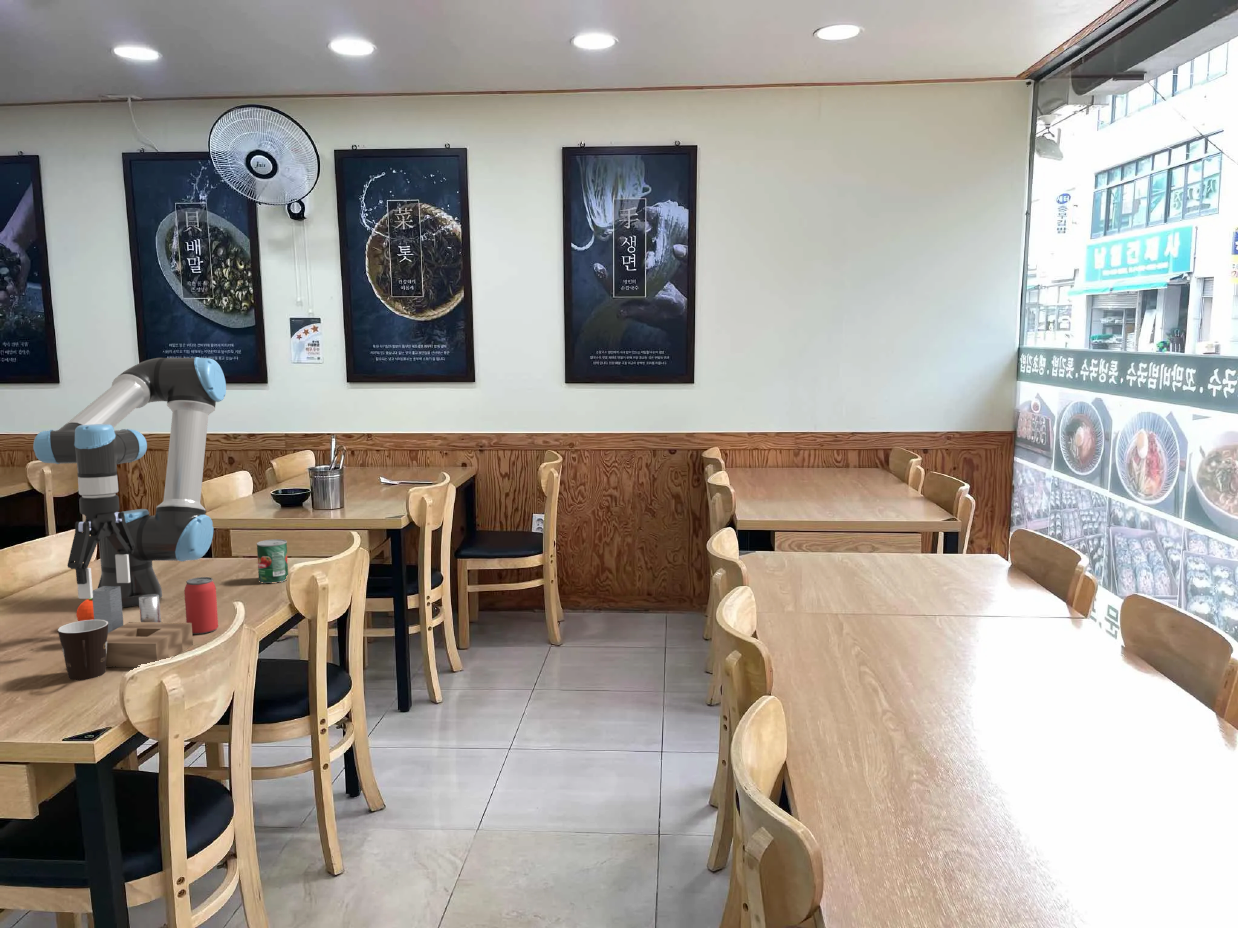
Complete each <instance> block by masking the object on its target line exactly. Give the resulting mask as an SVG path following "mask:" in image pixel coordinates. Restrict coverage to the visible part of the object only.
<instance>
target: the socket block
mask: <svg viewBox="0 0 1238 928" xmlns="http://www.w3.org/2000/svg"><path fill="white" fill-rule="evenodd" d="M193 639H194V638H193V634H192V623H186V622H164V621H163V622H162V621H161V622H141V621H129V622H127V623H125V624H123V626H121V627H119V628H117V629H115V630H113V631H111V632H109V633H108V637H107V655H106V668H110V667H112V666H113V667H115V666H116V667H115V668H117V667H119V668H120V667H121V668H138V667H137V666H138V665H141V664H147V663H150V662H155V661H159V660H161V659H166V658H170V657H171V656H175V655H176V656H177V655H179V654H181V653H182V652H184V651H186V650H187V649H189V648H191V647H192V646H193V645H194V640H193ZM176 656H175V657H176ZM107 666H108V667H107ZM113 667H112V668H113Z"/></svg>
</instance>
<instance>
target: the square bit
mask: <svg viewBox="0 0 1238 928" xmlns="http://www.w3.org/2000/svg"><path fill="white" fill-rule="evenodd" d="M97 588H98V587H97ZM97 588H96V589H92V591H93V598H92V599H93V612H94V620H105V621H107V622H108V633H109V632H111V631H113V630H115V629H117V628H119V627H121V626H123V625H124V616H123V615H124V614H123V607H122V600H121V587H120V586H102V587H100V588H98V589H97Z"/></svg>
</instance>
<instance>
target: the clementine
mask: <svg viewBox="0 0 1238 928" xmlns="http://www.w3.org/2000/svg"><path fill="white" fill-rule="evenodd" d="M76 619H77V622H78V621H84V620H94V612H93V599H92V598H91V599H84V601H82V602H81V603H80V604H79V605H78V606H77V610H76Z"/></svg>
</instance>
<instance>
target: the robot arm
mask: <svg viewBox="0 0 1238 928" xmlns="http://www.w3.org/2000/svg"><path fill="white" fill-rule="evenodd" d="M226 394H227V382H226V378H225V375H224V371H223V369H222V367H221V366H220V364H219V363H218V362H217V361H216V360H214V359H213V358H209V357H206V358H205V357H198V356H196V357H156V358H155V357H154V358H151V359H146V360H144V361H141V362H139V363H137V364H135V365H133V366H131V367H129V368H127V369H126V370H124V371H123V372H121V373H120V374H119V375H118V376H116V377H115V378H114V379H113V380H112V382H111V386H110V387H109V388H108V389H107V390H106V391H105V392H103V393H102V394H101V395H99V396H98V397H96V399H94V400H93V401H92V402H91V403H90V404H89V405H87V406H86V407H85V408H83V409H82V410H81V411H80V412H79V413H78V414H76V415H75V416H73V418H72V419H70V420H68V421H67V423H65V424H64V425H63V426H61V427H60V428H59V429H57V430H53V429H50V430H49V429H48V430H43V431H39V433H37V434H36V435H35V437H34V439H33V446H32V447H33V452H34V455H35V457H36V459H38V460H39V462H41V463H45V464H56V465H60V464H64V465H65V464H76V469H77V484H78V494H79V495H80V496H81V497H79V499H78V501H79V502H78V504H79V513H80V515H83V516H85V521H76V522H75V524H74V535H73V540H72V544H71V549H70V553H69V557H68V560H67V568H68V569H70V570H75V576H76V577H75V578H76V583H77V596H78V597H77V598H78V599H83V600H87V599H91V598H93V581H92V567H89V564H90V562H91V560H92V557H93V554H94V553H95V550H96V547H97V545H98V546H99V556H100V557H99V561H100V570H101V571H100V572H101V575H100V578H99V581H98V585H97V588H96V589H98V588H100V587H102V586H120V587H121V600H122V608H127V607H128V608H130V607H135V606H139V597H140V596H143V595H148V594H158V595H159V600H160V599H161V598H162V597H163V591H162V590H163V589H162V586H161V584H160V581H159V579H158V577H157V575H156V573H155V570H154V568H153V561H156V562H157V561H160V562H161V561H162V562H163V561H164V562H165V561H169V562H170V561H174V562H175V561H176V562H177V561H179V562H186V561H196V560H200V559H201V558H203V556H205V555H206V553H207V552H208V550H209V549H210V547H211V544H212V543H213V537H214V523H213V520H212V518H211V517H210V516H209V515H206V512H207V511H206V510H207V509H206V508H205V507H204V506H203V505H202V503H201V497H202V486H203V475H204V464H205V455H206V453H205V452H206V443H207V431H208V421H209V416H210V415H211V414H212V413H213V412H215V411H216V403H219V402H222V401H223V400H224V399H225V397H226ZM156 402H166V406H167V407H168V409H170V410H171V411H172V415H171V424H170V434H169V435H170V436H169V445H168V452H167V453H168V454H167V464H166V471H165V473H166V475H165V482H164V485H165V486H164V494H163V501H162V502H161V503H159V504H158V505H156V507H155V515H150V511H149V510H148V509H147V508H140V509H139V508H137V509H132V510H131V509H130V510H126V511H120V498H119V496H118V492H119V481H118V471H117V470H118V469H117V467H118V466H117V465H121V464H126V463H127V464H129V463H133V462H135V461H138V460H140V459H141V458H143V456H144V455H146V452H147V449H148V442H147V439H146V438H145V436H144V435H143V434H142V433H141V432H140V431H138V430H136V429H130V428H127V429H126V428H124V429H123V428H121V429H120V430H119V429H118V430H115V429H114V428H115V427H116V426H117V425H119V424H120V423H121V422H122V421H123V420H124V419H125V418H126V417H128V416H129V415H130V414H131V413H132V412H133V411H134V410H135V409H140V408H143V407H145V406H146V405H147V404H150V403H156Z"/></svg>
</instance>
